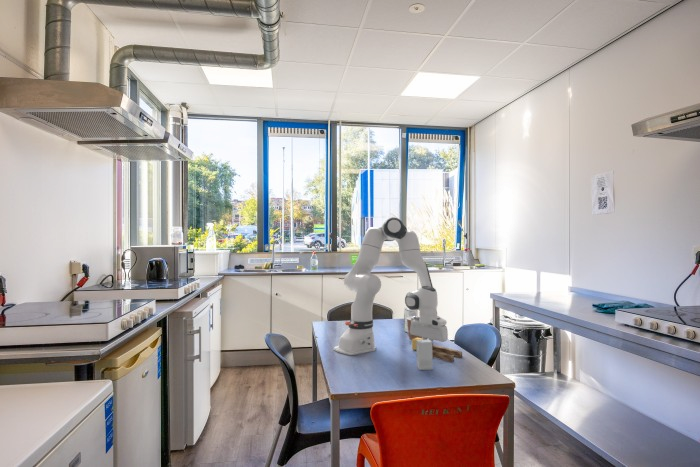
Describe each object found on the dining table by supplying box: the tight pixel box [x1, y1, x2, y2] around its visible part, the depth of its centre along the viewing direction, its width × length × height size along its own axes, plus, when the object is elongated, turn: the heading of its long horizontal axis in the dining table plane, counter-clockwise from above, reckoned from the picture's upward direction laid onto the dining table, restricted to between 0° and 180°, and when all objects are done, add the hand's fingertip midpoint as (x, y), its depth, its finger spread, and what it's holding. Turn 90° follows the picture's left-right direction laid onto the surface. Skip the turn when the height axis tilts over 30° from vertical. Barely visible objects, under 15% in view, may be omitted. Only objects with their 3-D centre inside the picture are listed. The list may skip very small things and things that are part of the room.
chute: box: [432, 342, 463, 363], centre depth 179 cm, size 17×11×3 cm, turn 46°
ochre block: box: [411, 337, 423, 351], centre depth 187 cm, size 6×5×5 cm
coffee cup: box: [407, 315, 423, 342], centre depth 206 cm, size 10×10×12 cm
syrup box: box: [403, 307, 418, 334], centre depth 223 cm, size 6×6×14 cm
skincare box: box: [416, 339, 433, 371], centre depth 160 cm, size 6×4×12 cm
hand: (427, 346), depth 183 cm, fingers closed
